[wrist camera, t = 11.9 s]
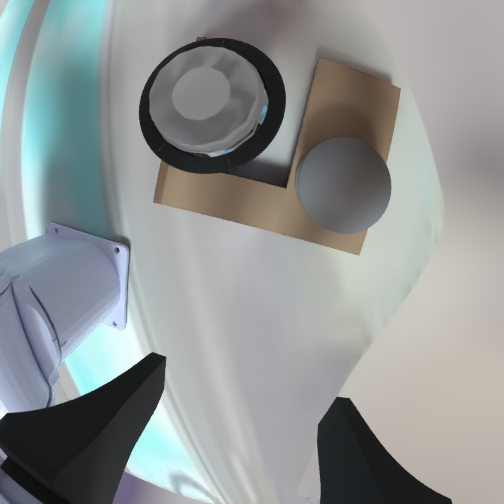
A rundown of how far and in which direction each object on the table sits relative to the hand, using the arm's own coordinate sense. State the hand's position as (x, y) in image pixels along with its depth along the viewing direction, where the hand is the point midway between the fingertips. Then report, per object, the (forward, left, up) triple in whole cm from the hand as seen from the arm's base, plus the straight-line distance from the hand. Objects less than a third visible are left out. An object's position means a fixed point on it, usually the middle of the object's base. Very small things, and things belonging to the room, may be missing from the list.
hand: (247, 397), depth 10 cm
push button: (-4, +11, -11) cm, 16 cm away
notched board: (-1, +11, -10) cm, 15 cm away
